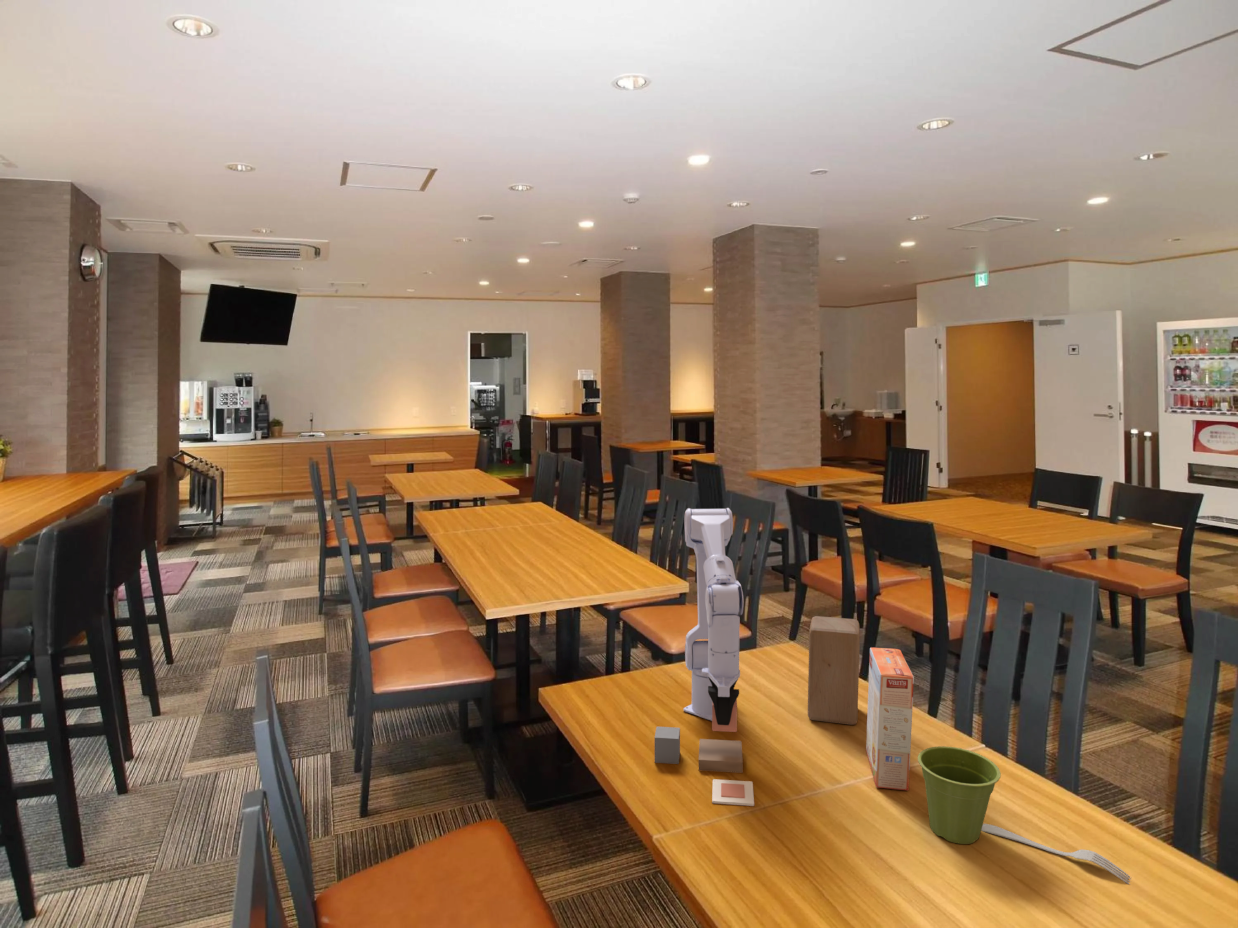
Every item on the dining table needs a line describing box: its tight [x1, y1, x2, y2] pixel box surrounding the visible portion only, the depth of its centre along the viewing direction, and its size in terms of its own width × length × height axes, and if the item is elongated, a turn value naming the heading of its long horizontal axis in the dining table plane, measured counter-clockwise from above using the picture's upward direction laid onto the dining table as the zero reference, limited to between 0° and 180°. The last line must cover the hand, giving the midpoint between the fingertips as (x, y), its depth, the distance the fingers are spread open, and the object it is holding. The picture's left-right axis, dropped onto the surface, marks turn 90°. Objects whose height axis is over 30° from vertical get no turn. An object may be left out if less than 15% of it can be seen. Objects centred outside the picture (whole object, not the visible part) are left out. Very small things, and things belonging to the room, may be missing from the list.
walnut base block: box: [698, 738, 744, 774], centre depth 141 cm, size 8×8×2 cm
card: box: [711, 778, 755, 807], centre depth 130 cm, size 7×7×1 cm
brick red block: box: [711, 698, 738, 733], centre depth 140 cm, size 4×4×5 cm
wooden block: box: [807, 615, 861, 726], centre depth 159 cm, size 10×10×20 cm
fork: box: [981, 823, 1131, 885], centre depth 113 cm, size 3×21×3 cm, turn 48°
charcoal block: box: [654, 726, 681, 765], centre depth 143 cm, size 4×4×5 cm
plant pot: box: [917, 745, 1002, 845], centre depth 118 cm, size 12×12×11 cm
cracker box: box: [865, 647, 915, 791], centre depth 136 cm, size 14×6×21 cm, turn 168°
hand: (723, 717), depth 140 cm, fingers closed on brick red block, 4 cm apart
